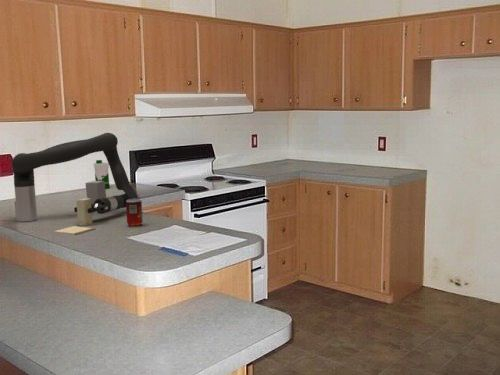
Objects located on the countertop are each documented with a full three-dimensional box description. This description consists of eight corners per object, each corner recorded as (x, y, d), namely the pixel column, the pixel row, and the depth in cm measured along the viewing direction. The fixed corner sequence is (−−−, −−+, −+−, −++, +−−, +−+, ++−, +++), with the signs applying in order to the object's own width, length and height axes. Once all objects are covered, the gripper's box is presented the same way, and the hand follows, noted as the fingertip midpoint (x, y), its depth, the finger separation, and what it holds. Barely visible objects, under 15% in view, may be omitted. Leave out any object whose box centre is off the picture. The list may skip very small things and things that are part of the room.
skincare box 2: (108, 209, 287) (106, 180, 285) (99, 211, 281) (97, 182, 278) (95, 208, 291) (94, 180, 288) (86, 210, 284) (84, 181, 282)
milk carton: (103, 187, 376) (101, 159, 373) (112, 188, 371) (110, 160, 369) (93, 189, 369) (91, 160, 366) (102, 189, 364) (100, 161, 361)
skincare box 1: (86, 226, 245) (84, 200, 243) (77, 225, 246) (75, 200, 244) (92, 223, 251) (91, 198, 249) (84, 223, 252) (82, 197, 250)
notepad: (54, 232, 233) (54, 230, 233) (73, 227, 243) (73, 226, 243) (77, 234, 227) (77, 233, 227) (95, 229, 237) (95, 228, 237)
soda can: (143, 226, 241) (141, 199, 239) (127, 227, 239) (126, 201, 237) (142, 223, 248) (140, 197, 246) (126, 224, 246) (125, 198, 244)
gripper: (94, 196, 263) (69, 201, 249) (116, 198, 256) (92, 203, 242) (95, 211, 264) (70, 217, 250) (117, 213, 257) (93, 219, 243)
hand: (81, 210), depth 246 cm, fingers open, 8 cm apart
